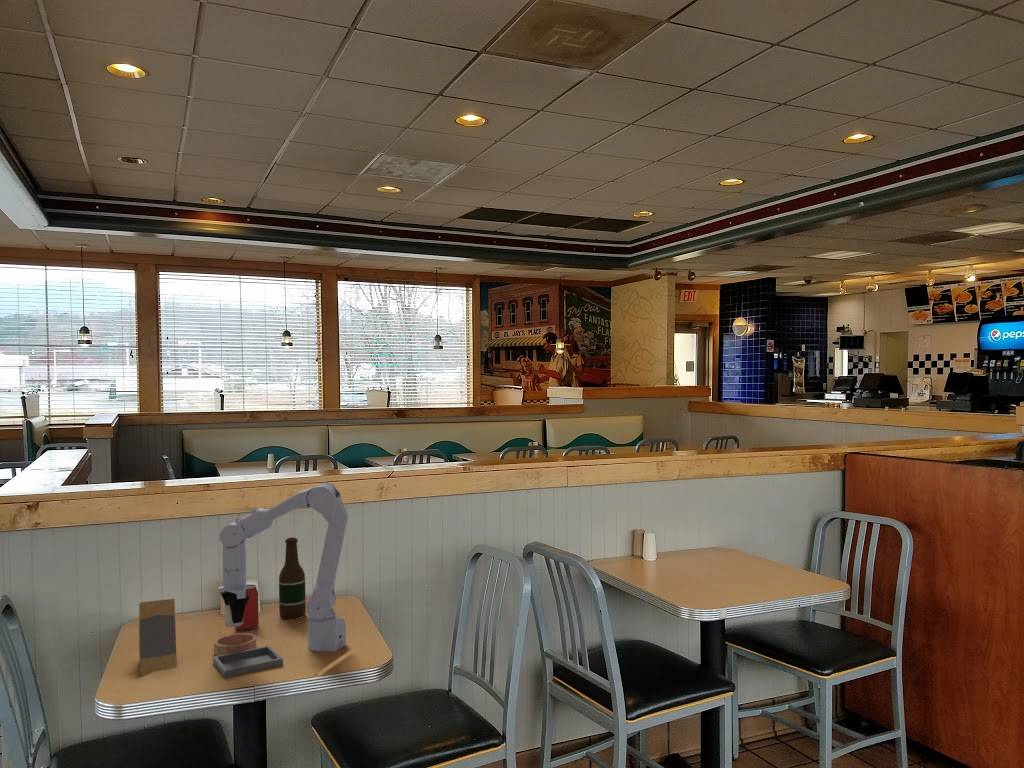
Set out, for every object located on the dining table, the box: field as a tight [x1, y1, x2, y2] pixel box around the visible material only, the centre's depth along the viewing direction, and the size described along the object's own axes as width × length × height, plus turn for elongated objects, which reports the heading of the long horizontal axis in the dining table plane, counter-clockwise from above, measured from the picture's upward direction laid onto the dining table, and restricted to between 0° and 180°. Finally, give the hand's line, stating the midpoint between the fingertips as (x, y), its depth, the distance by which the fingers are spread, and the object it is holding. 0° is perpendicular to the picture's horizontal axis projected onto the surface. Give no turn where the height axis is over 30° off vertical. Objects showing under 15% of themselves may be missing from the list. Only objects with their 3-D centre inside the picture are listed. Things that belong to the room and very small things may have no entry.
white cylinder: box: [224, 604, 243, 628], centre depth 197 cm, size 4×4×5 cm
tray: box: [212, 645, 284, 679], centre depth 187 cm, size 14×12×3 cm
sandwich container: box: [138, 598, 178, 678], centre depth 190 cm, size 9×15×15 cm, turn 27°
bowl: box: [213, 632, 258, 656], centre depth 197 cm, size 10×10×4 cm
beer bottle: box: [278, 537, 307, 620], centre depth 230 cm, size 8×8×24 cm
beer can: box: [234, 584, 260, 632], centre depth 220 cm, size 7×7×12 cm
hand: (235, 620), depth 197 cm, fingers closed on white cylinder, 4 cm apart
